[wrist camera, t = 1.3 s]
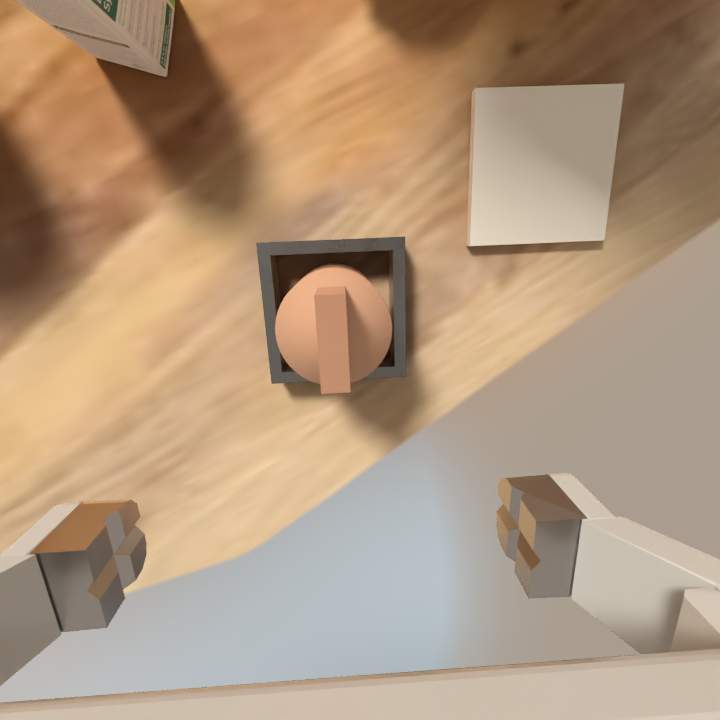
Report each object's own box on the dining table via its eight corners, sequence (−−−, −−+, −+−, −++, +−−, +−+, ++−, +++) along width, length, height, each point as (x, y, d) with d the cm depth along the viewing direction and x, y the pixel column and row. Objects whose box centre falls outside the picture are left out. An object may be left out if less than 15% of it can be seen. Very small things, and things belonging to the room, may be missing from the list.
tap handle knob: (288, 265, 36) (257, 280, 23) (377, 261, 36) (399, 273, 23) (295, 351, 38) (271, 411, 25) (380, 347, 38) (401, 404, 25)
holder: (263, 242, 35) (256, 242, 32) (399, 237, 36) (405, 236, 33) (276, 372, 39) (271, 383, 36) (401, 366, 39) (406, 376, 36)
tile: (471, 92, 33) (475, 87, 32) (616, 88, 33) (624, 83, 32) (466, 246, 36) (469, 246, 35) (597, 240, 37) (604, 240, 36)
